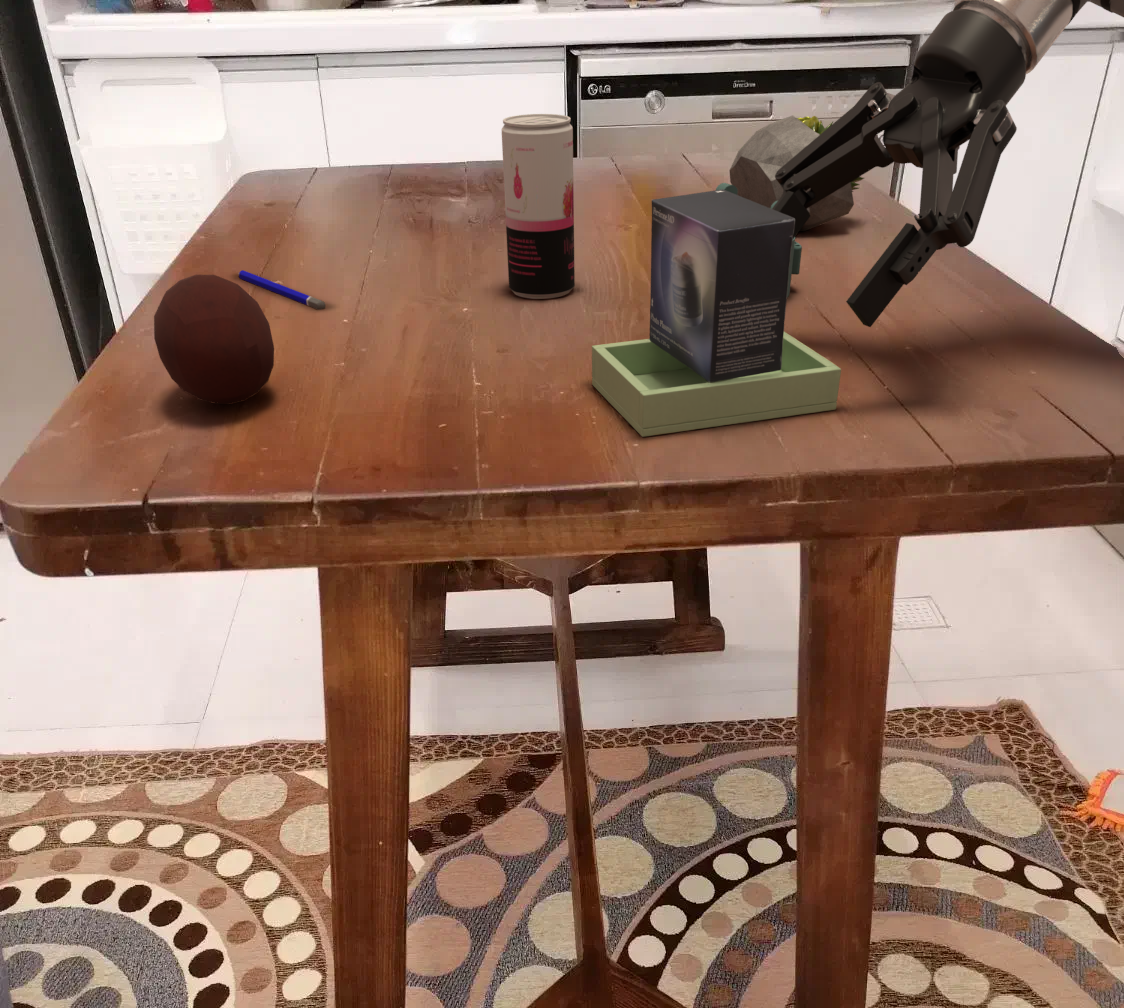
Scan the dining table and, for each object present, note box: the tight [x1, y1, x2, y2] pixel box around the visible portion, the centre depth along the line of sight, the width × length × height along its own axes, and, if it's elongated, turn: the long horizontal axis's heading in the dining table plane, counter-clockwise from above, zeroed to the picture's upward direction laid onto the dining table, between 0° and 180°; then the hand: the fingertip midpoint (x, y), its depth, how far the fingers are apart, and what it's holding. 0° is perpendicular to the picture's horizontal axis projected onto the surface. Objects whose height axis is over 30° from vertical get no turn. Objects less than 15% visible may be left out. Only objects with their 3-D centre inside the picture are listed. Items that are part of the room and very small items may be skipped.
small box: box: [648, 189, 795, 382], centre depth 80 cm, size 11×6×10 cm, turn 22°
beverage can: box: [501, 113, 576, 300], centre depth 105 cm, size 7×7×15 cm
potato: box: [153, 274, 275, 405], centre depth 84 cm, size 9×12×9 cm
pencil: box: [237, 270, 326, 311], centre depth 111 cm, size 17×1×1 cm, turn 41°
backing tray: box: [591, 331, 842, 438], centre depth 84 cm, size 12×16×3 cm
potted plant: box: [729, 115, 865, 232], centre depth 125 cm, size 12×13×15 cm
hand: (799, 293), depth 83 cm, fingers open, 13 cm apart
